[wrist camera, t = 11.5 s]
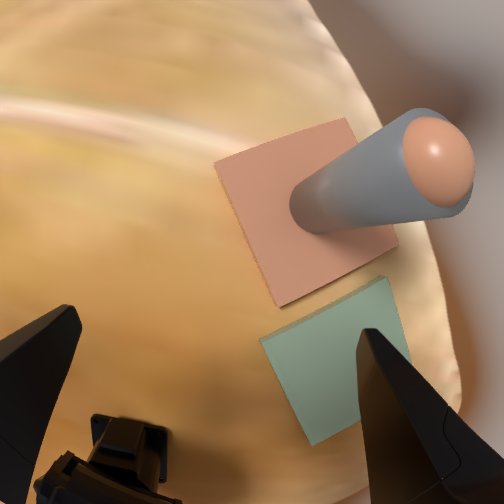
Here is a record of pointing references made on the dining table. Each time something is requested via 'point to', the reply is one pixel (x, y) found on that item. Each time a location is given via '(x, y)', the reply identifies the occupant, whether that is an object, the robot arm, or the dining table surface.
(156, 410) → the dining table surface
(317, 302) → the dining table surface
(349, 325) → the sage tile
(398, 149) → the tube
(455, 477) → the robot arm
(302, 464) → the dining table surface
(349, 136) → the terracotta tile
